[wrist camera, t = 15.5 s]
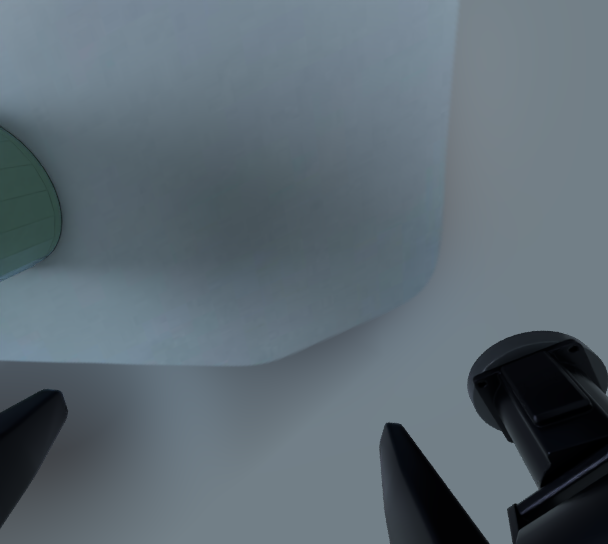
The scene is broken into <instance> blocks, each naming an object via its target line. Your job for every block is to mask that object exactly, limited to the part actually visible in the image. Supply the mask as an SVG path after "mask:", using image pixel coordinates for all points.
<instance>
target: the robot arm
mask: <svg viewBox="0 0 608 544" xmlns="http://www.w3.org/2000/svg"><path fill="white" fill-rule="evenodd" d="M572 346H573V347H572ZM570 347H572V348H570ZM569 348H570V349H569ZM481 381H483V382H482V383H479V382H481ZM472 382H473V384H474V386H475V388H476V390H477V391H478V393H479V395H480V396H481V398H482V400H483V401H484V403H485V405H486V406H487V408H488V409H489V411H490V413H491V414H492V416H493V418H494V419H495V421H496V422H497V424H498V426H499V427H500V429H501V431H502V432H503V434H504V435H505V437H506V438H507V440H508V441H509V442H511V443H514V444H515V446H516V448H517V450H518V451H519V453H520V455H521V457H522V459H523V461H524V463H525V465H526V466H527V468H528V470H529V472H530V474H531V476H532V478H533V480H534V481H535V483H536V485H537V487H538V489H539V490H538V491H536V492H535V493H533V494H532V495H530V496H529V497H528V498H526V499H525V500H523V501H522V502H520V503H519V504H513V505H512V506H511V507H509V508H508V509H507V511H508V517H509V523H510V529H511V536H512V542H513V544H608V397H607V396H606V395H605V394H604V392H603V390H602V388H601V386H600V383H599V381H598V379H597V377H596V374H595V372H594V370H593V368H592V366H591V363H590V361H589V359H588V357H587V354H586V352H585V350H584V348H583V346H582V345H581V344H580V343H579V342H578V341H577V340H576V339H566V340H564V341H561V342H559V343H556V344H554V345H551V346H549V347H546V348H544V349H541V350H538V351H536V352H533V353H531V354H528V355H526V356H523V357H521V358H518V359H516V360H513V361H510V362H508V363H505V364H503V365H500V366H498V367H495V368H493V369H490V370H488V371H485V372H482V373H480V374H477V375H476V376H474V377H473V379H472ZM67 415H68V410H67V406H66V403H65V400H64V397H63V394H62V392H61V391H59V390H52V389H44V390H41V391H39V392H37V393H36V394H34V395H32V396H30V397H28V398H26V399H25V400H23V401H21V402H19V403H17V404H15V405H13V406H12V407H10V408H8V409H6V410H4V411H3V412H1V413H0V528H1V527H2V525H3V524H4V522H5V521H6V519H7V518H8V516H9V514H10V513H11V512H12V510H13V509H14V507H15V506H16V504H17V503H18V501H19V500H20V498H21V497H22V495H23V494H24V492H25V491H26V489H27V488H28V486H29V484H30V483H31V481H32V480H33V478H34V477H35V475H36V473H37V472H38V470H39V468H40V466H41V465H42V463H43V461H44V459H45V457H46V455H47V454H48V452H49V450H50V448H51V446H52V445H53V443H54V441H55V439H56V437H57V435H58V434H59V432H60V430H61V428H62V426H63V424H64V423H65V421H66V418H67ZM379 448H380V461H381V475H382V487H383V500H384V510H385V516H386V523H387V528H388V534H389V539H390V544H489V542H488V541H487V540H486V538H485V537H484V536H483V534H482V533H481V532H480V530H479V529H478V527H477V526H476V525H475V523H474V522H473V521H472V519H471V518H470V517H469V515H468V514H467V513H466V511H465V510H464V509H463V507H462V506H461V504H460V503H459V502H458V501H457V499H456V498H455V496H454V495H453V494H452V492H451V491H450V489H449V488H448V487H447V485H446V484H445V483H444V481H443V480H442V479H441V477H440V476H439V475H438V473H437V472H436V471H435V469H434V468H433V466H432V465H431V464H430V462H429V461H428V460H427V459H426V457H425V456H424V454H423V453H422V452H421V450H420V449H419V447H418V446H417V445H416V444H415V442H414V441H413V439H412V438H411V437H410V435H409V434H408V433H407V431H406V430H405V428H404V427H403V426H402V425H401V424H398V423H386V424H385V426H384V430H383V433H382V437H381V440H380V447H379Z"/></svg>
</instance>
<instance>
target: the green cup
mask: <svg viewBox="0 0 608 544" xmlns="http://www.w3.org/2000/svg"><path fill="white" fill-rule="evenodd" d="M61 223H62V221H61V210H60V205H59V201H58V198H57V195H56V192H55V189H54V187H53V185H52V183H51V181H50V179H49V177H48V175H47V174H46V172H45V170H44V169H43V167H42V166H41V165H40V163H39V162H38V160H37V159H36V158H35V157H34V156H33V154H32V153H31V152H30V151H29V150H28V149H27V148H26V147H25V146H24V145H23V144H22V143H21V142H20V141H19V140H17V139H16V138H15V137H14V136H13V135H11V134H10V133H8V132H7V131H6V130H4V129H3V128H1V127H0V282H1V281H3V280H5V279H7V278H10V277H12V276H14V275H16V274H18V273H20V272H22V271H24V270H26V269H28V268H30V267H32V266H34V265H35V264H37V263H39V262H41V261H42V260H44V259H45V258H46V257H47V256H48V255H49V254H50V253H51V252H52V251H53V249H54V248H55V246H56V245H57V242H58V240H59V237H60V232H61Z"/></svg>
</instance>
